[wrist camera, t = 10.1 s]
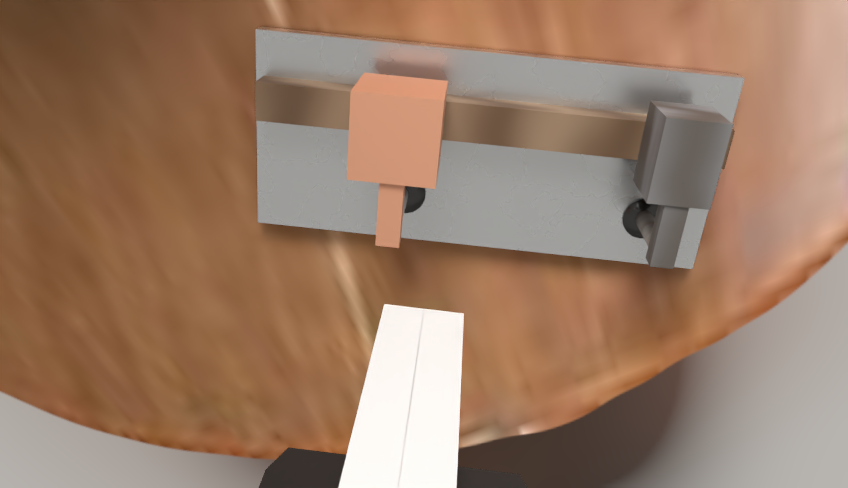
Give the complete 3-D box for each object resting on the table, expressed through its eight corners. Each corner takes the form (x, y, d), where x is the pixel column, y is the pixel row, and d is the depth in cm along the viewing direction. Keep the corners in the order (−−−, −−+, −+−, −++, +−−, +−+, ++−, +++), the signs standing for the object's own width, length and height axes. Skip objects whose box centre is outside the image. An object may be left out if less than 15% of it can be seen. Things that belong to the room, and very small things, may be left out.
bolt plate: (262, 215, 51) (257, 223, 49) (260, 26, 45) (254, 29, 44) (687, 261, 50) (693, 269, 49) (738, 74, 44) (745, 78, 43)
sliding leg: (361, 201, 48) (343, 244, 42) (368, 66, 44) (350, 90, 38) (435, 209, 48) (429, 253, 42) (449, 74, 44) (444, 100, 38)
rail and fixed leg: (264, 189, 48) (237, 223, 43) (263, 54, 45) (234, 73, 39) (693, 234, 48) (721, 275, 42) (729, 101, 44) (765, 127, 38)
